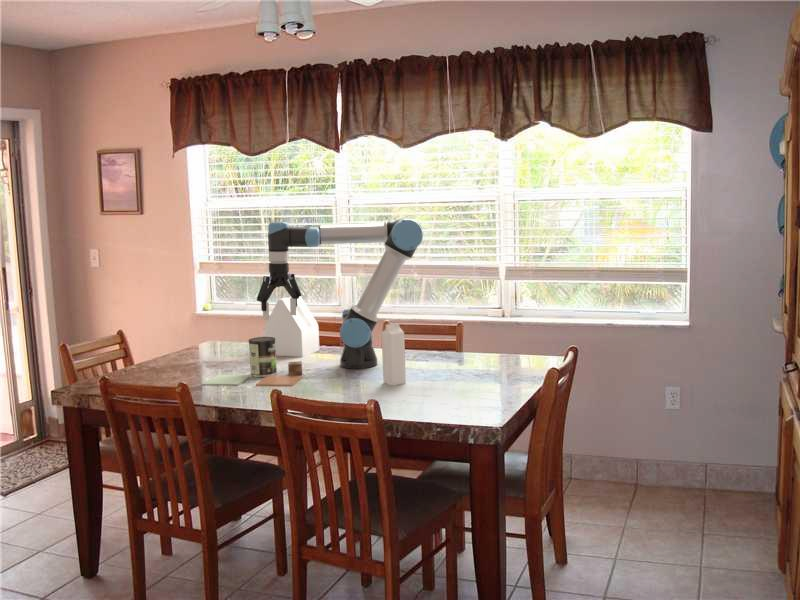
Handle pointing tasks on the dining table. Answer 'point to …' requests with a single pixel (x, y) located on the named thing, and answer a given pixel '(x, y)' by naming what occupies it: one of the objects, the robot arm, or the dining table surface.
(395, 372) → the milk
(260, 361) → the coffee can
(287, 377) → the pad terracotta
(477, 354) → the dining table surface
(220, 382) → the pad green
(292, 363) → the walnut block
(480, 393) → the dining table surface
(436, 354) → the dining table surface
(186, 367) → the dining table surface
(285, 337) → the white house block
